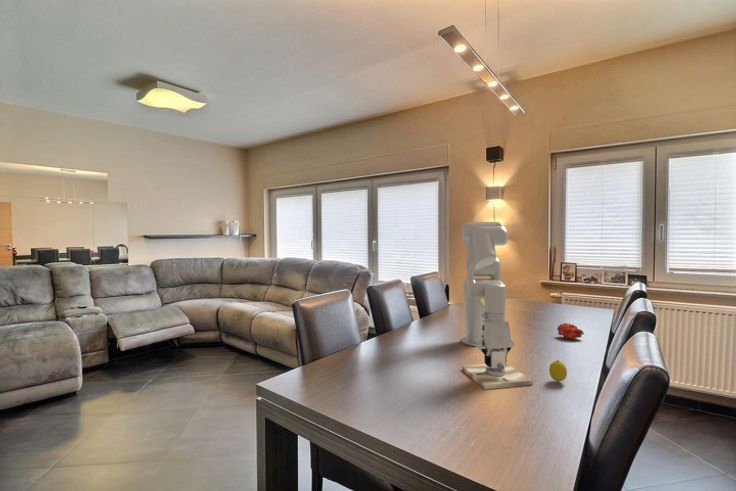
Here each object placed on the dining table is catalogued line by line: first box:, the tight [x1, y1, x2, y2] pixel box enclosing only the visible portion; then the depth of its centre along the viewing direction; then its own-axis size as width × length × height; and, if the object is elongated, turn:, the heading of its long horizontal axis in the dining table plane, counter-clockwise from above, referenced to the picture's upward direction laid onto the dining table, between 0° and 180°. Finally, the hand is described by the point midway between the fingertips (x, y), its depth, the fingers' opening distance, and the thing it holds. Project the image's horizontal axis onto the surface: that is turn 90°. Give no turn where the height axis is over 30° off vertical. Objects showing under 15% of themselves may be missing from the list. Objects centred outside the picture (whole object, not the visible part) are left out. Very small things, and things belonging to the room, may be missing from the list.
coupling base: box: [461, 363, 534, 390], centre depth 130 cm, size 18×18×4 cm
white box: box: [490, 349, 507, 370], centre depth 129 cm, size 7×5×6 cm
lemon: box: [548, 359, 568, 384], centre depth 125 cm, size 6×6×8 cm
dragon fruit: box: [556, 322, 585, 341], centre depth 176 cm, size 8×8×12 cm
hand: (495, 364), depth 130 cm, fingers closed on white box, 5 cm apart
